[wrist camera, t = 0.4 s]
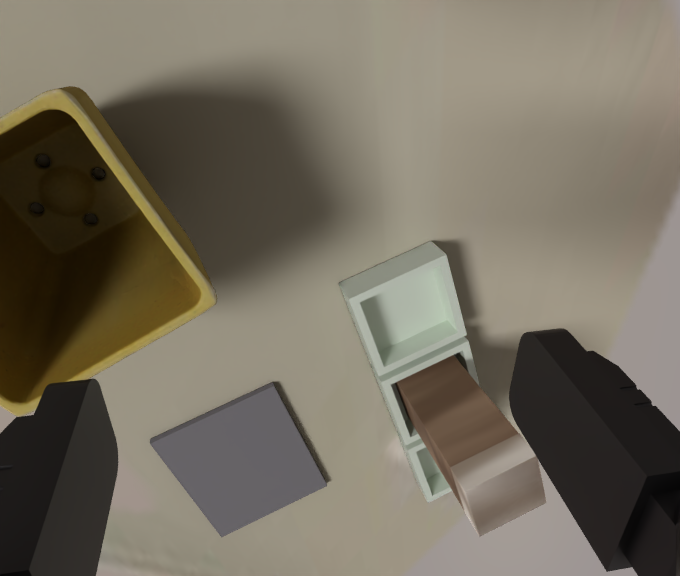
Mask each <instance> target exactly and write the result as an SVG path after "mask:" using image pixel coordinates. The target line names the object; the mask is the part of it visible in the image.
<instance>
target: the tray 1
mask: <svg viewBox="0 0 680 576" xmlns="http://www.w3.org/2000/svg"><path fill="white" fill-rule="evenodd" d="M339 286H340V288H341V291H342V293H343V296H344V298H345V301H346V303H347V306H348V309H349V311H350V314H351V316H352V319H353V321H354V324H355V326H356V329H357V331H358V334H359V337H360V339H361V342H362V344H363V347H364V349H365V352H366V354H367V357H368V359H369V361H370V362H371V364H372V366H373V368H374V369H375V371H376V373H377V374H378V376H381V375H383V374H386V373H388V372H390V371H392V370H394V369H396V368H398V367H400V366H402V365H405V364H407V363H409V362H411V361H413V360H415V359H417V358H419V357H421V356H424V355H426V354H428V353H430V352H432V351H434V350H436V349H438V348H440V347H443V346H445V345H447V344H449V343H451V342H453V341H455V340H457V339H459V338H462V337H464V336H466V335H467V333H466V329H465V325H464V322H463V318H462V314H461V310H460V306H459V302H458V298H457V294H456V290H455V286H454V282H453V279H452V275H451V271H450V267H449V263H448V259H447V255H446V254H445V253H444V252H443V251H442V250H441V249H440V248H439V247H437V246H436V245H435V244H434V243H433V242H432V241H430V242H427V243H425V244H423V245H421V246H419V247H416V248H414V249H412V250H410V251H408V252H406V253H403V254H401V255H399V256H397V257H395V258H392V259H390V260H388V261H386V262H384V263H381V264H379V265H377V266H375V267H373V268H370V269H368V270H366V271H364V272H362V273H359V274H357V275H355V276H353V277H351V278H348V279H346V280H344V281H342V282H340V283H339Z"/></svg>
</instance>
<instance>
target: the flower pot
mask: <svg viewBox="0 0 680 576" xmlns="http://www.w3.org/2000/svg"><path fill="white" fill-rule="evenodd" d="M39 155H46V156H48V157H49V158H50V165H49V166H47V167H41V166H40V165H38V163H37V162H36V159H37V157H38V156H39ZM94 168H101V169H103V170H104V171H105V177H104V178H103V179H96V178H94V177H93V175H92V171H93V169H94ZM32 203H40V204H41V205H42V206H43V207H44V211H43V212H42V213H40V214H36V213H33V212H32V211H31V209H30V206H31V204H32ZM86 214H94V215H95V216H96V217H97V222H96V223H94V224H87V223H86V222H85V220H84V217H85V215H86ZM216 302H217V295H216V292H215V290H214V288H213V286H212V284H211V281H210V279H209V277H208V275H207V273H206V271H205V269H204V267H203V264H202V262H201V260H200V258H199V256H198V254H197V252H196V250H195V248H194V246H193V244H192V243H191V241H190V239H189V237H188V236H187V234H186V233H185V232H184V230H183V229H182V228H181V226H180V225H179V224H178V222H177V221H176V220H175V218H174V217H173V215H172V214H171V213H170V211H169V210H168V209H167V207H166V206H165V204H164V203H163V202H162V200H161V199H160V198H159V196H158V195H157V193H156V192H155V191H154V189H153V188H152V186H151V185H150V184H149V182H148V181H147V179H146V178H145V177H144V175H143V174H142V172H141V171H140V170H139V168H138V167H137V165H136V164H135V162H134V161H133V159H132V158H131V157H130V155H129V154H128V152H127V151H126V149H125V148H124V147H123V145H122V144H121V142H120V141H119V139H118V138H117V136H116V135H115V134H114V132H113V131H112V129H111V128H110V126H109V125H108V123H107V122H106V120H105V119H104V118H103V116H102V115H101V113H100V112H99V110H98V109H97V107H96V106H95V104H94V103H93V101H92V100H91V99H90V97H89V96H88V95H87V94H86V93H85V92H84V91H83V90H81V89H80V88H77V87H71V86H70V87H64V88H59V89H53V90H49V91H46V92H44V93H42V94H40V95H38V96H36V97H35V98H33V99H31V100H30V101H28V102H27V103H25V104H23V105H21V106H20V107H18V108H16V109H14V110H13V111H11V112H9V113H7V114H6V115H4V116H2V117H0V406H1V407H2V408H4V409H6V410H7V411H9V412H10V413H12V414H14V415H15V416H19V417H21V416H24V415H27V414H29V413H31V412H33V411H35V410H36V408H37V406H38V404H39V401H40V399H41V396H42V394H43V392H44V390H45V388H46V386H47V385H48V384H51V383H59V382H68V381H77V380H86V379H89V378H91V377H93V376H94V375H96V374H98V373H100V372H101V371H103V370H105V369H107V368H109V367H110V366H112V365H114V364H115V363H117V362H119V361H120V360H122V359H124V358H126V357H127V356H129V355H131V354H133V353H135V352H136V351H138V350H140V349H142V348H143V347H145V346H147V345H148V344H150V343H152V342H153V341H155V340H157V339H159V338H161V337H162V336H164V335H166V334H168V333H170V332H172V331H173V330H175V329H177V328H178V327H180V326H182V325H183V324H185V323H187V322H189V321H191V320H192V319H194V318H196V317H197V316H199V315H201V314H202V313H204V312H205V311H207V310H208V309H210V308H211V307H212V306H214V305H215V304H216Z"/></svg>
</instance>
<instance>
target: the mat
mask: <svg viewBox="0 0 680 576" xmlns="http://www.w3.org/2000/svg"><path fill="white" fill-rule="evenodd" d="M150 444H151V446H152V447H153V448H154V450H155V451H156V452H157V453H158V455H159V456H160V457H161V459H162V460H163V461H164V463H165V464H166V465H167V467H168V468H169V469H170V470H171V472H172V473H173V474H174V476H175V477H176V478H177V480H178V481H179V482H180V484H181V485H182V486H183V487H184V489H185V490H186V491H187V493H188V494H189V495H190V497H191V498H192V499H193V501H194V502H195V503H196V504H197V506H198V507H199V508H200V510H201V511H202V512H203V514H204V515H205V516H206V517H207V519H208V520H209V521H210V523H211V524H212V525H213V527H214V528H215V529H216V531H217V532H218V533H219V534H220V536H221V537H223V536H225V535H227V534H229V533H231V532H233V531H235V530H238V529H240V528H242V527H244V526H246V525H248V524H250V523H252V522H254V521H256V520H258V519H260V518H262V517H264V516H266V515H268V514H270V513H272V512H274V511H276V510H278V509H280V508H283V507H285V506H287V505H289V504H291V503H293V502H295V501H297V500H299V499H301V498H303V497H305V496H307V495H309V494H311V493H313V492H315V491H317V490H319V489H321V488H323V487H326V486H327V484H326V481H325V479H324V477H323V475H322V474H321V472H320V470H319V468H318V466H317V464H316V462H315V460H314V459H313V457H312V455H311V453H310V451H309V449H308V447H307V446H306V444H305V442H304V440H303V438H302V436H301V434H300V432H299V431H298V429H297V427H296V425H295V423H294V421H293V419H292V417H291V416H290V414H289V412H288V410H287V408H286V406H285V404H284V403H283V401H282V399H281V397H280V395H279V393H278V391H277V389H276V388H275V386H274V384H273V382H272V383H270V384H267V385H265V386H263V387H261V388H259V389H257V390H255V391H252V392H250V393H248V394H246V395H244V396H242V397H240V398H237V399H235V400H233V401H231V402H229V403H227V404H225V405H222V406H220V407H218V408H216V409H214V410H212V411H210V412H207V413H205V414H203V415H201V416H199V417H197V418H195V419H192V420H190V421H188V422H186V423H184V424H182V425H180V426H177V427H175V428H173V429H171V430H169V431H167V432H165V433H162V434H160V435H158V436H156V437H154V438H152V439H150Z"/></svg>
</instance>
